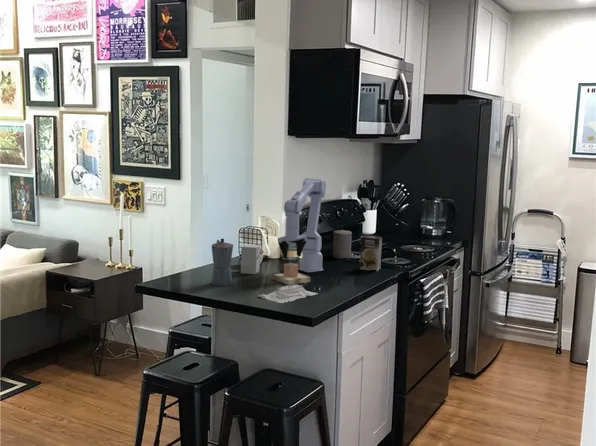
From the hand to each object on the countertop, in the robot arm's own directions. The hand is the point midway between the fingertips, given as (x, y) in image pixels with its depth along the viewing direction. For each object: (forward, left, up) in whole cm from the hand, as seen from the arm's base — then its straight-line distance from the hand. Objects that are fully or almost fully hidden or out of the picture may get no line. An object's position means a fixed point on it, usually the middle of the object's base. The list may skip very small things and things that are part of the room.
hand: (291, 256), depth 278 cm
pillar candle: (-52, -29, -11) cm, 60 cm away
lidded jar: (+1, -33, -11) cm, 34 cm away
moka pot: (+31, -8, -11) cm, 34 cm away
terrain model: (+17, +22, -11) cm, 30 cm away
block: (+1, +1, -8) cm, 8 cm away
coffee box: (-46, +1, -11) cm, 47 cm away
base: (+1, +2, -10) cm, 11 cm away
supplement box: (+9, -21, -11) cm, 25 cm away
